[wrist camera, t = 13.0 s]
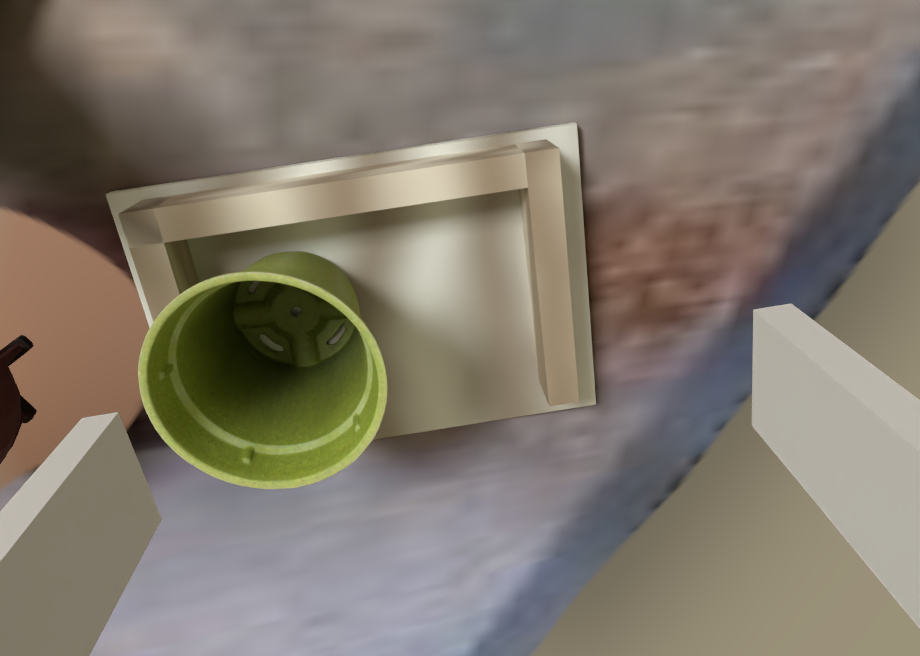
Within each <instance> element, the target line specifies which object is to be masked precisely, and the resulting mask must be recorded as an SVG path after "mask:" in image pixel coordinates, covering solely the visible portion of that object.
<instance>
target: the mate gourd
mask: <svg viewBox="0 0 920 656" xmlns="http://www.w3.org/2000/svg"><path fill="white" fill-rule="evenodd" d="M32 347H33V343H32V342H31V341H30V340H29V339H28V338H27V337H25V336H23V335H21V336H19V337H18V338H16V339H15V340H13V341H12V342H11V343H10V344H8V345H7V346H6V347H4V348H3V349H2V350H0V464H1V462H2V461H3V460H4V458H5V457H6V455H7V453H8V451H9V450H10V448H11V447H12V446H13V444H14V442H15V439H16V437H17V435H18V432H19V429H20V427H21V424H22V422H23V423H27V422H29V421H30V420H31V419H33V417H34V415H35V414H36V409H34V407H33V406H32V405H31V404H29V403H28V402H27V401H26V400H25V399H24V398H23V397H22V396H21V395H20V392H19V390H18V387H17V385H16V383H15V381H14V378H13V376H12V374H11V372H10V369H9V367H8V366H9V365H11V364H12V363H13V362H15V361H16V360H17V359H18V358H20V357H21V356H22V355H24V354H25V353H26V352H27V351H28V350H30V349H31V348H32Z"/></svg>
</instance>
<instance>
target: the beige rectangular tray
mask: <svg viewBox="0 0 920 656" xmlns="http://www.w3.org/2000/svg"><path fill="white" fill-rule="evenodd" d="M106 197H107V200H108V203H109V206H110V210H111V213H112V216H113V219H114V222H115V225H116V228H117V231H118V234H119V237H120V240H121V243H122V246H123V249H124V252H125V255H126V258H127V261H128V264H129V267H130V270H131V273H132V276H133V279H134V282H135V285H136V288H137V291H138V294H139V297H140V300H141V303H142V306H143V309H144V312H145V315H146V318H147V321H148V324H149V327H151V325H152V324H153V322H154V321H155V319H156V318H157V316H158V315H159V314H160V313H161V311H162V310H163V309H164V308H165V307H166V306H167V305H168V304H169V303H170V302H171V301H172V300H173V299H175V298H176V297H177V296H178V295H180V294H181V293H182V292H184V291H185V290H187V289H188V288H190V287H192V286H194V285H195V284H198V283H200V282H202V281H204V280H207V279H209V278H212V277H215V276H219V275H223V274H226V273H233V272H241V271H244V270H245V269H247V268H248V267H249V266H251V265H252V264H254V263H255V262H257V261H258V260H260V259H262V258H264V257H266V256H268V255H270V254H274V253H280V252H289V251H303V252H308V253H312V254H315V255H318V256H320V257H322V258H324V259H326V260H328V261H330V262H331V263H333V264H334V265H335V266H336V267H338V268H339V269H340V270H341V271H342V272H343V273H344V275H345V276H346V277H347V278H348V280H349V281H350V283H351V285H352V286H353V289H354V291H355V294H356V297H357V300H358V304H359V309H360V315H361V318H362V319H363V320H364V322H365V323H366V324H367V325H368V327H369V328H370V330H371V331H372V333H373V335H374V336H375V338H376V340H377V342H378V344H379V347H380V349H381V352H382V355H383V358H384V361H385V366H386V371H387V381H388V394H387V404H386V409H385V413H384V416H383V420H382V422H381V425H380V427H379V429H378V431H377V433H376V435H375V437H374V438H373V440H375V439H381V438H387V437H393V436H400V435H406V434H412V433H419V432H425V431H431V430H438V429H444V428H450V427H457V426H463V425H469V424H476V423H482V422H488V421H494V420H501V419H507V418H513V417H520V416H526V415H532V414H539V413H545V412H551V411H558V410H564V409H570V408H576V407H583V406H589V405H595V404H596V397H595V382H594V367H593V353H592V338H591V323H590V309H589V294H588V279H587V265H586V250H585V235H584V220H583V206H582V191H581V176H580V162H579V147H578V132H577V123H574V122H573V123H566V124H559V125H553V126H546V127H539V128H533V129H526V130H519V131H513V132H506V133H499V134H493V135H486V136H479V137H473V138H466V139H459V140H452V141H446V142H439V143H432V144H426V145H419V146H412V147H406V148H399V149H392V150H386V151H379V152H372V153H366V154H359V155H352V156H346V157H339V158H332V159H325V160H319V161H312V162H305V163H299V164H292V165H285V166H279V167H272V168H265V169H259V170H252V171H245V172H239V173H232V174H225V175H219V176H212V177H205V178H198V179H192V180H185V181H178V182H172V183H165V184H158V185H152V186H145V187H138V188H132V189H125V190H118V191H112V192H109V193H107V194H106ZM260 282H261V281H253V283H252V284H251V286H250V287H249V288H248V291H249V292H250V293H249V294H253V293H254V292H255V289H256V288H257V286H258V285H259V283H260ZM301 312H302V311H301V308H299V307H294V308H293V309H292V310H291V313H292V315H293V316H296V317H297V316H299V315H300V314H301ZM344 330H345V328H344V325H340V327H339V328H338V331H337V332H336V333H335V335H334V336H332V337H331V338H330V339H329V340H328V341H327V344H329V345H331V344H335V343H336V342H337V341H338V339H339V338H340V337H341V335H342V334H343V332H344ZM260 339H261V341H262V342H263V343H264V344H265V345H267V346H268V347H269V348H271V349H273V350H275V351H279V352H280V351H283V347H282V346H280V345H277V344H275V343H274V342H272V341H271V340H270V339H269V338H268V337H266V336H265V335H264V334H261V335H260ZM196 468H197V467H196Z"/></svg>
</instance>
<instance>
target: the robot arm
mask: <svg viewBox="0 0 920 656" xmlns="http://www.w3.org/2000/svg"><path fill="white" fill-rule="evenodd" d="M752 426H753V428H754V429H755V430H756V431H757V432H758V433H759V435H760V436H761V437H762V438H763V440H764V441H765V442H766V443H767V444H768V446H769V447H770V448H771V449H772V450H773V452H774V453H775V454H776V455H777V457H779V459H780V460H781V461H782V463H783V464H784V465H785V466H786V467H787V469H788V470H789V471H790V472H791V474H792V475H793V476H794V477H795V478H796V479H797V481H798V482H799V483H800V484H801V486H802V487H803V488H804V489H805V490H806V492H807V493H808V494H809V495H810V497H811V498H812V499H813V500H814V501H815V503H816V504H817V505H818V506H819V507H820V509H821V510H822V511H823V512H824V513H825V515H826V516H827V517H828V518H829V520H830V521H831V522H832V523H833V524H834V525H835V527H836V528H837V529H838V530H839V532H840V533H841V534H842V535H843V536H844V538H845V539H846V540H847V541H848V543H849V544H850V545H851V546H852V547H853V548H854V550H855V551H856V552H857V553H858V554H859V556H860V557H861V558H862V559H863V561H864V562H865V563H866V564H867V566H868V567H869V568H870V569H871V570H872V571H873V573H874V574H875V575H876V576H877V578H878V579H879V580H880V581H881V582H882V584H883V585H884V586H885V587H886V588H887V589H888V591H889V592H890V593H891V595H892V596H893V597H894V598H895V599H896V601H897V602H898V603H899V604H900V605H901V607H902V608H903V609H904V610H905V611H906V613H907V614H908V615H909V616H910V618H911V619H912V620H913V621H914V622H915V624H916V625H917V626H918V627H919V628H920V400H919V399H917V398H916V397H915V396H914V395H912V394H911V393H910V392H908V391H907V390H906V389H904V388H903V387H902V386H900V385H899V384H897V383H896V382H895V381H894V380H892V379H891V378H889V377H888V376H887V375H886V374H884V373H883V372H881V371H880V370H879V369H878V368H876V367H875V366H874V365H872V364H871V363H870V362H868V361H867V360H866V359H864V358H863V357H861V356H860V355H859V354H858V353H856V352H855V351H854V350H852V349H851V348H850V347H848V346H847V345H846V344H844V343H843V342H842V341H840V340H839V339H838V338H836V337H835V336H834V335H832V334H831V333H830V332H828V331H827V330H826V329H824V328H823V327H822V326H820V325H819V324H818V323H816V322H815V321H814V320H812V319H811V318H810V317H808V316H807V315H806V314H804V313H803V312H802V311H800V310H799V309H798V308H796V307H795V306H794V305H792V304H785V305H779V306H773V307H767V308H761V309H754V310H753V375H752ZM161 519H162V518H161V516H160V513H159V511H158V508H157V506H156V504H155V501H154V499H153V496H152V494H151V491H150V489H149V486H148V484H147V481H146V479H145V476H144V474H143V471H142V469H141V466H140V464H139V461H138V459H137V457H136V454H135V452H134V449H133V447H132V444H131V442H130V439H129V437H128V434H127V432H126V429H125V427H124V424H123V422H122V420H121V417H120V415H119V412H115V413H109V414H104V415H97V416H90V417H85V418H82V419H81V420H80V421H79V422H78V423H77V424H76V425H75V426H74V428H73V429H72V430H71V431H70V432H69V433H68V434H67V436H66V437H65V438H64V439H63V440H62V441H61V443H60V444H59V445H58V446H57V447H56V448H55V449H54V451H53V452H52V453H51V454H50V455H49V456H48V457H47V459H46V460H45V461H44V462H43V463H42V464H41V465H40V467H39V468H38V469H37V470H36V471H35V472H34V473H33V475H32V476H31V477H30V478H29V479H28V480H27V481H26V483H25V484H24V485H23V486H22V487H21V488H20V490H19V491H18V492H17V493H16V494H15V495H14V496H13V498H12V499H11V500H10V501H9V502H8V503H7V504H6V506H5V507H4V508H3V509H2V510H1V511H0V656H89V655H90V653H91V651H92V649H93V647H94V646H95V644H96V642H97V640H98V638H99V636H100V634H101V632H102V631H103V629H104V627H105V625H106V623H107V621H108V619H109V617H110V615H111V614H112V612H113V610H114V608H115V606H116V604H117V602H118V600H119V598H120V597H121V595H122V593H123V591H124V589H125V587H126V585H127V583H128V582H129V580H130V578H131V576H132V574H133V572H134V570H135V568H136V566H137V565H138V563H139V561H140V559H141V557H142V555H143V553H144V551H145V549H146V548H147V546H148V544H149V542H150V540H151V538H152V536H153V534H154V533H155V531H156V529H157V527H158V525H159V523H160V521H161Z"/></svg>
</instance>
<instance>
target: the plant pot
mask: <svg viewBox="0 0 920 656" xmlns="http://www.w3.org/2000/svg"><path fill="white" fill-rule="evenodd" d="M253 281H261V282H260V283H259V285H258V286H257V288H256V289H255V292H254V293H253V294H249V293H250V292H249V291H248V288H249V287H250V286H251V284H252V283H253ZM294 307H299V308H301V311H302V312H301V314H300V315H299V316H297V317H296V316H293V315H292V313H291V310H292V309H293V308H294ZM340 325H344V328H345V330H344V332H343V334H342V335H341V337H340V338H339V339H338V341H337V342H336V343H335V344H331V345H329V344H327V341H328V340H329V339H330V338H331V337H332V336H334V335H335V333H336V332H337V331H338V328H339V327H340ZM261 334H264V335H265V336H266V337H268V338H269V339H270V340H271V341H272V342H274V343H275V344H277V345H280V346H282V347H283V351H280V352H279V351H275V350H273V349H271V348H269V347H268V346H267V345H265V344H264V343H263V342H262V341H261V339H260V335H261ZM138 378H139V388H140V393H141V398H142V402H143V405H144V408H145V410H146V412H147V414H148V416H149V418H150V420H151V422H152V424H153V426H154V428H155V429H156V431H157V432H158V433H159V435H160V436H161V437H162V439H163V440H164V441H165V442H166V443H167V444H168V445H169V446H170V447H171V448H172V449H173V450H174V451H175V452H176V453H177V454H178V455H179V456H181V457H182V458H183V459H184V460H186V461H187V462H188V463H190V464H192V465H194V466H195V467H197V468H198V469H200V470H201V471H203V472H205V473H207V474H209V475H211V476H213V477H215V478H218V479H221V480H223V481H226V482H229V483H232V484H236V485H240V486H247V487H252V488H262V489H283V488H297V487H300V486H305V485H309V484H313V483H316V482H319V481H321V480H324V479H326V478H328V477H330V476H332V475H334V474H336V473H338V472H339V471H341V470H343V469H344V468H346V467H347V466H349V465H350V464H351V463H352V462H354V461H355V460H356V459H357V458H358V457H359V456H360V455H361V454H362V452H363V451H364V450H365V449H366V448H367V447H368V445H369V444H370V443H371V441H372V440H373V438H374V437H375V435H376V433H377V431H378V429H379V427H380V425H381V422H382V420H383V416H384V413H385V409H386V404H387V394H388V381H387V371H386V366H385V361H384V358H383V355H382V352H381V349H380V347H379V344H378V342H377V340H376V338H375V336H374V335H373V333H372V331H371V330H370V328H369V327H368V325H367V324H366V323H365V322H364V320H363V319H362V318H361V315H360V309H359V304H358V300H357V297H356V294H355V291H354V289H353V286H352V285H351V283H350V281H349V280H348V278H347V277H346V276H345V275H344V273H343V272H342V271H341V270H340V269H339V268H338V267H336V266H335V265H334V264H333V263H331V262H330V261H328V260H326V259H324V258H322V257H320V256H318V255H315V254H312V253H308V252H303V251H289V252H280V253H274V254H270V255H268V256H266V257H264V258H262V259H260V260H258V261H257V262H255V263H254V264H252V265H251V266H249V267H248V268H247V269H245V270H244V271H241V272H233V273H226V274H223V275H219V276H215V277H212V278H209V279H207V280H204V281H202V282H200V283H198V284H195V285H194V286H192V287H190V288H188V289H187V290H185V291H184V292H182V293H181V294H180V295H178V296H177V297H176V298H175V299H173V300H172V301H171V302H170V303H169V304H168V305H167V306H166V307H165V308H164V309H163V310H162V311H161V313H160V314H159V315H158V316H157V318H156V319H155V321H154V322H153V324H152V325H151V327H150V329H149V331H148V333H147V335H146V337H145V340H144V343H143V346H142V349H141V353H140V358H139V365H138Z"/></svg>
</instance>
